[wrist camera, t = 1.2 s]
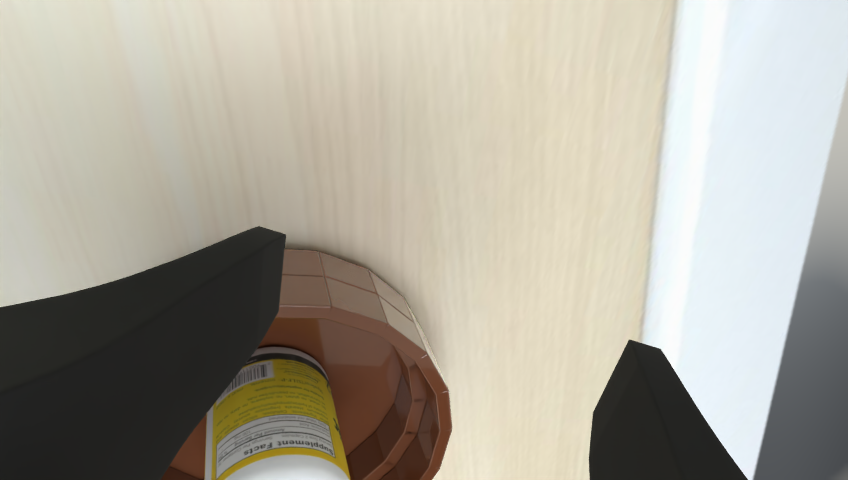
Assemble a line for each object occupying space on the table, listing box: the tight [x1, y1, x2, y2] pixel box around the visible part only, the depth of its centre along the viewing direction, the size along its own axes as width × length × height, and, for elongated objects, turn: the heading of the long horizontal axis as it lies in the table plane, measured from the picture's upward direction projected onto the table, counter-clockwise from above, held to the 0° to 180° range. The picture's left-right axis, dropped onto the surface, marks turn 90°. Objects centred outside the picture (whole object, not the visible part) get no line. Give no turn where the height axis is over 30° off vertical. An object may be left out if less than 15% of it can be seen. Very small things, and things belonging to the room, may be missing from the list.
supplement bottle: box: [204, 347, 350, 480], centre depth 24 cm, size 5×5×10 cm
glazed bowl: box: [161, 249, 452, 480], centre depth 26 cm, size 15×15×4 cm
